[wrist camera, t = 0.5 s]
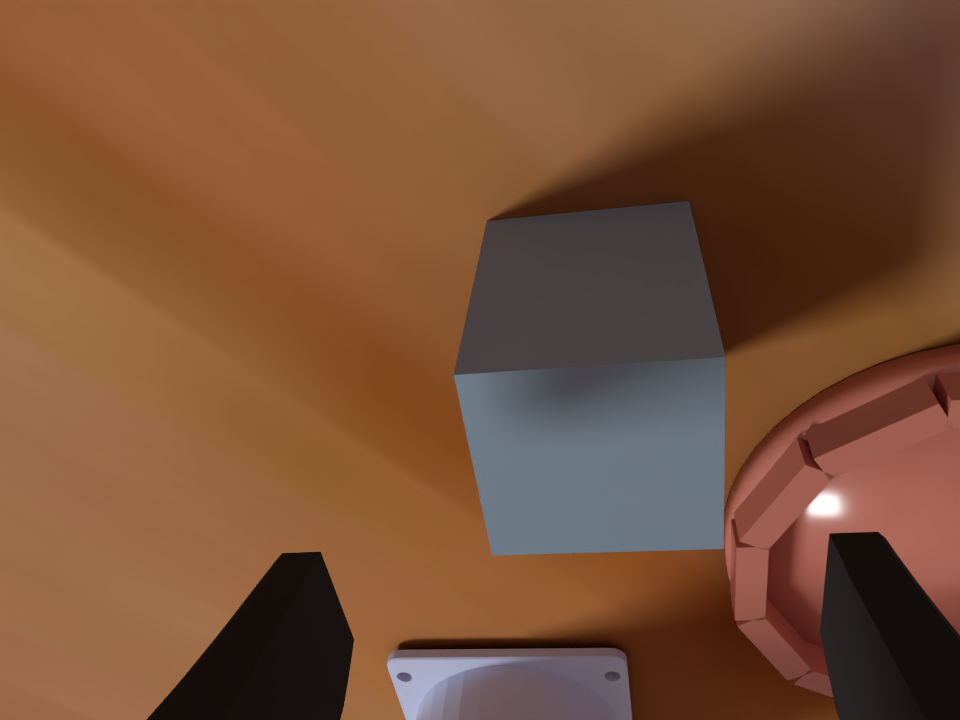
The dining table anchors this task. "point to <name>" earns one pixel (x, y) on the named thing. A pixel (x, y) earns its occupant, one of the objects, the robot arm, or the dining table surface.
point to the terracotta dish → (847, 502)
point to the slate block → (595, 384)
